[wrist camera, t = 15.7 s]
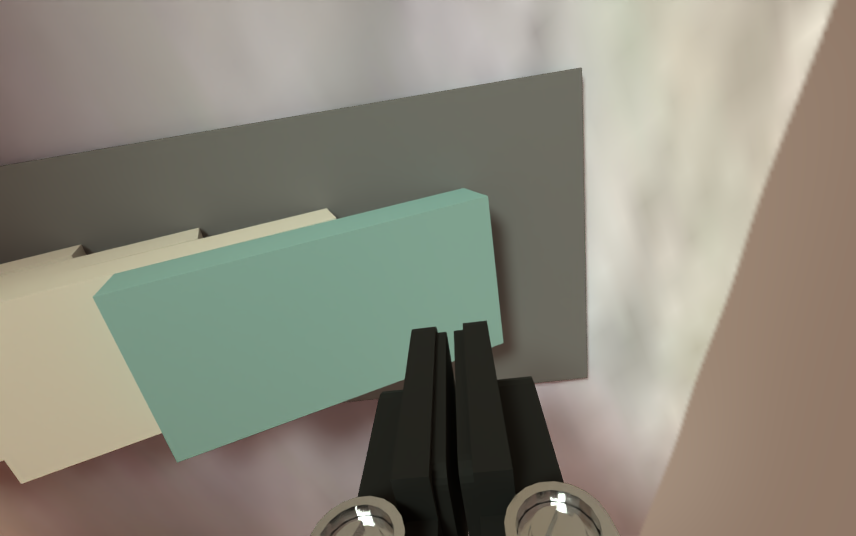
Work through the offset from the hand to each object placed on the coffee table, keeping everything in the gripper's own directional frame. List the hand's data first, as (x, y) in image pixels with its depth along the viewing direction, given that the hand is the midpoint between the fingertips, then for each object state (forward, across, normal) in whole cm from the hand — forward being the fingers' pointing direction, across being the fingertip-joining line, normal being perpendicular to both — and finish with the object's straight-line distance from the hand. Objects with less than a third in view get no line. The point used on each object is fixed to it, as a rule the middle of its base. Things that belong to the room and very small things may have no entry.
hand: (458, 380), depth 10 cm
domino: (+6, +4, 0) cm, 7 cm away
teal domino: (+6, -1, 0) cm, 6 cm away
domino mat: (+8, +8, 0) cm, 11 cm away
